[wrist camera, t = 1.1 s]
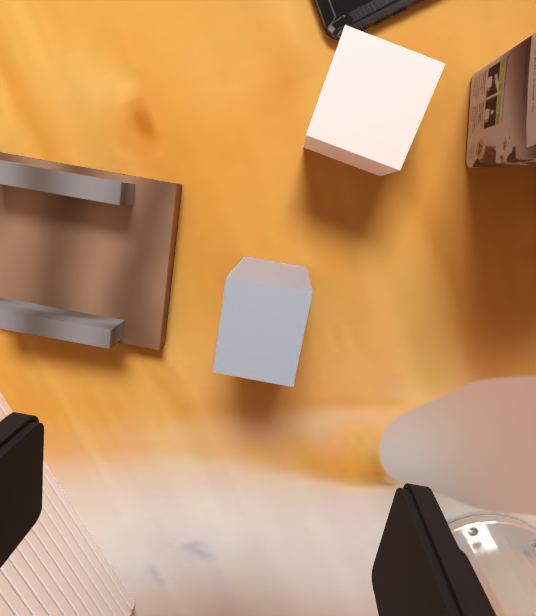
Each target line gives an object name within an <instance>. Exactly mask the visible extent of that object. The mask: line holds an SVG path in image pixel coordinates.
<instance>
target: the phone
mask: <svg viewBox="0 0 536 616" xmlns="http://www.w3.org/2000/svg"><path fill="white" fill-rule="evenodd" d="M314 1H315V4H316V7H317V10H318V12H319V15H320V18H321V21H322V24H323V27H324V29H325V31H326V33H327V34H328V35H329V36H330V37H331V38H333V39H335V40H340V38H341V35H342V32H343V29H344V26H345V25H347V26H350V27H352V28H355V29H357V30H360V31H364V30H366V29H367V28H368V27H370V26H372V25H374V24H375V25H376V24H378V23H380V22H382V21H384V20H386V19H388V18H389V17H390V16H392V15H393V16H395V15H397V14H399V13H401V12H403V11H405V10H406V8H408V7H410V6H412V5H414V4H416V3H418V2H420V1H422V0H314Z"/></svg>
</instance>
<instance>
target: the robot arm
mask: <svg viewBox="0 0 536 616" xmlns="http://www.w3.org/2000/svg"><path fill="white" fill-rule="evenodd" d="M43 446H44V426H43V424H42V423H39V420H38V418H37V417H36V416H32V415H27V414H21V413H16V412H14V413H11V414H9V415H8V416H6V417H5V418H4V419H3V420H1V421H0V568H1V567H2V566H3V564H4V563H5V562H6V561H7V559H8V558H9V557H10V555H11V554H12V553H13V552H14V550H15V549H16V548H17V546H18V545H19V544H20V543H21V541H22V540H23V539H24V537H25V536H26V535H27V534H28V532H29V531H30V530H31V528H32V527H33V526H34V525H35V523H36V522H37V520H38V518H39V516H40V514H41V510H42V491H43ZM372 585H373V590H374V594H375V599H376V604H377V608H378V613H379V616H536V529H535V528H533V527H531V526H530V525H528V524H526V523H525V522H523V521H520V520H517V519H514V518H512V517H507V516H501V515H476V516H469V517H466V518H462V519H459V520H456V521H454V522H452V523H450V524H447V521H446V519H445V517H444V515H443V513H442V511H441V509H440V507H439V505H438V503H437V501H436V499H435V497H434V494H433V492H432V491H431V489H430V488H429V487H425V486H419V485H413V484H408V483H407V484H405V485H404V487H403V488H398V489H397V490H396V493H395V496H394V499H393V503H392V506H391V509H390V513H389V516H388V519H387V522H386V526H385V529H384V532H383V535H382V539H381V542H380V545H379V548H378V552H377V555H376V558H375V562H374V565H373V569H372Z"/></svg>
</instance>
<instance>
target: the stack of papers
mask: <svg viewBox="0 0 536 616" xmlns="http://www.w3.org/2000/svg"><path fill="white" fill-rule="evenodd" d="M11 413H13V411H12V410H11V408H10V407H9V405H8V403H7V402H6V400H5V399H4V397H3V396H2V394H1V393H0V421H1V420H3V419H4V418H5V417H6V416H8V415H9V414H11ZM134 605H135V602H134V601H133V599H132V598H131V596H130V595H129V593H128V591H127V590H126V588H125V587H124V585H123V584H122V582H121V580H120V579H119V577H118V576H117V574H116V573H115V571H114V569H113V568H112V566H111V565H110V563H109V562H108V560H107V559H106V557H105V555H104V554H103V552H102V551H101V549H100V548H99V546H98V544H97V543H96V541H95V540H94V538H93V537H92V535H91V533H90V532H89V530H88V529H87V527H86V526H85V524H84V522H83V521H82V519H81V518H80V516H79V515H78V513H77V512H76V510H75V508H74V507H73V505H72V504H71V502H70V501H69V499H68V497H67V496H66V494H65V493H64V491H63V490H62V488H61V486H60V485H59V483H58V482H57V480H56V479H55V477H54V476H53V474H52V472H51V471H50V469H49V468H48V466H47V465H46V463H45V461H44V460H43V491H42V510H41V514H40V516H39V518H38V520H37V522H36V523H35V525H34V526H33V527H32V528H31V530H30V531H29V532H28V534H27V535H26V536H25V537H24V539H23V540H22V541H21V543H20V544H19V545H18V546H17V548H16V549H15V550H14V552H13V553H12V554H11V555H10V557H9V558H8V559H7V561H6V562H5V563H4V564H3V566H2V567H1V568H0V616H131V613H132V612H131V610H133V608H134Z"/></svg>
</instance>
